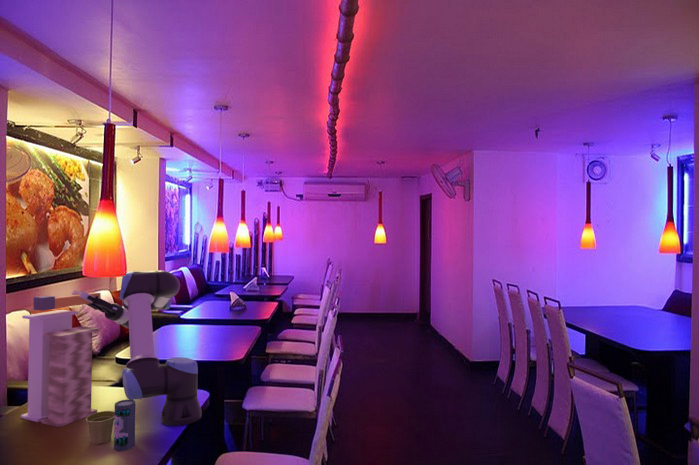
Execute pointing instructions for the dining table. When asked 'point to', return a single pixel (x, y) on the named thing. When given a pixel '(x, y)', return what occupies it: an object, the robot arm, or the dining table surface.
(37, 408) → the grey stand
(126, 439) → the can
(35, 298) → the orange bar
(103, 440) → the plant pot
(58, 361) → the birch stand
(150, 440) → the dining table surface
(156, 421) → the dining table surface
